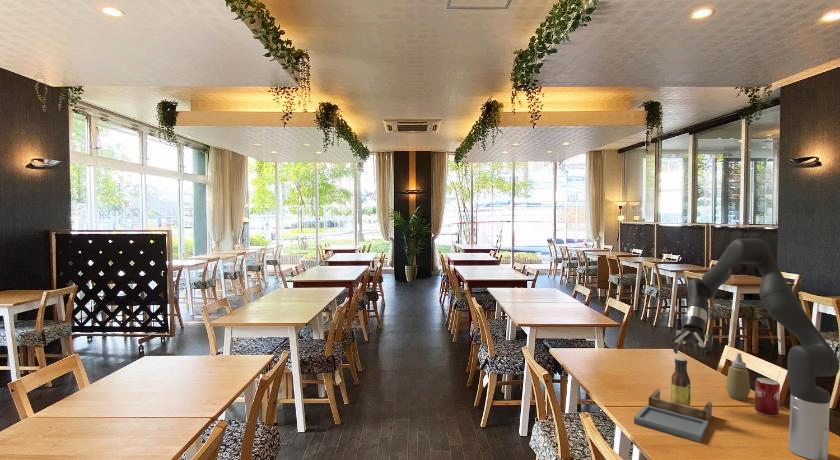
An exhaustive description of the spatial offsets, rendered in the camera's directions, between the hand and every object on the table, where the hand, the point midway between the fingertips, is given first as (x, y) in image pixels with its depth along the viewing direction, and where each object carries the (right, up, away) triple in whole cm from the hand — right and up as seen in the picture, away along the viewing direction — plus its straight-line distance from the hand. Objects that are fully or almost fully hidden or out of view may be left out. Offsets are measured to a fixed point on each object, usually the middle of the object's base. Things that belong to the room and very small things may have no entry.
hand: (688, 354), depth 176 cm
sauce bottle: (-7, -19, -8) cm, 22 cm away
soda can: (+25, -20, -7) cm, 33 cm away
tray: (-17, -19, -18) cm, 31 cm away
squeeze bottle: (+24, -19, +7) cm, 32 cm away
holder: (-7, -19, -8) cm, 22 cm away
